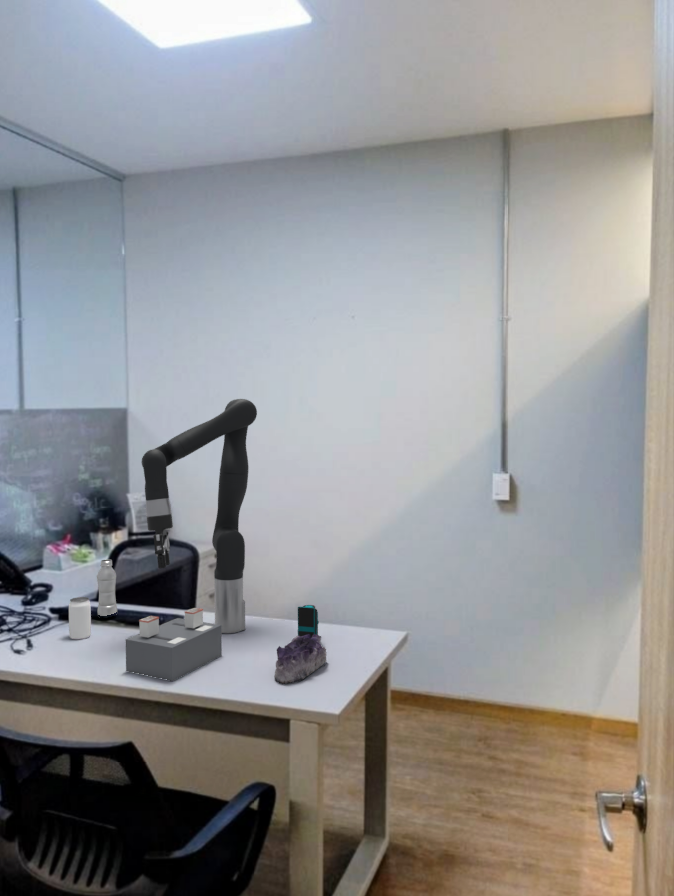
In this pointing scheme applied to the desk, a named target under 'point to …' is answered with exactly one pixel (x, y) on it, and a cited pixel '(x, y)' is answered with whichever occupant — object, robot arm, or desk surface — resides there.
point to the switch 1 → (149, 626)
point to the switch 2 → (193, 617)
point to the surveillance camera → (307, 620)
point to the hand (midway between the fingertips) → (164, 566)
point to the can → (79, 618)
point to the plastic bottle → (106, 589)
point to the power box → (173, 649)
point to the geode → (299, 659)
